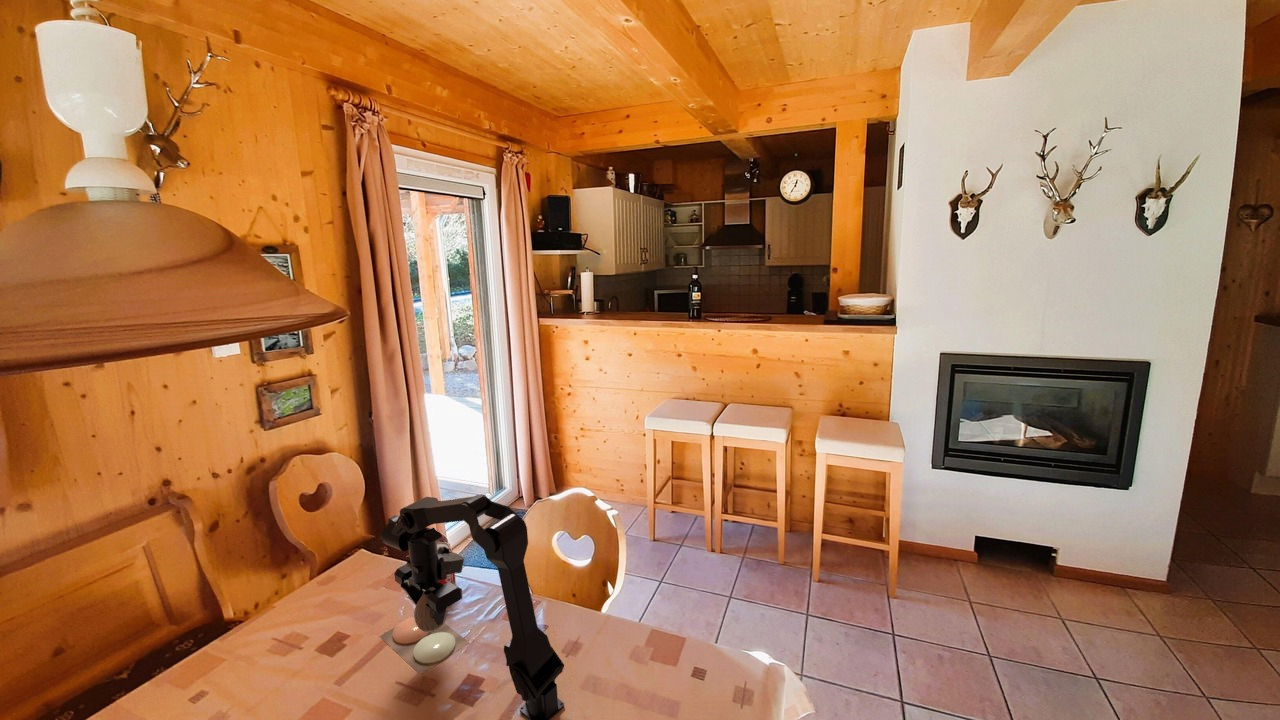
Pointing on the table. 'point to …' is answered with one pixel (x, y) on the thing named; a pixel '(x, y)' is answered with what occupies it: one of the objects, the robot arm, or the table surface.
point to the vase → (425, 615)
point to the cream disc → (434, 648)
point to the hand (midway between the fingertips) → (431, 617)
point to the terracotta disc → (408, 632)
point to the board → (407, 649)
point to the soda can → (449, 576)
